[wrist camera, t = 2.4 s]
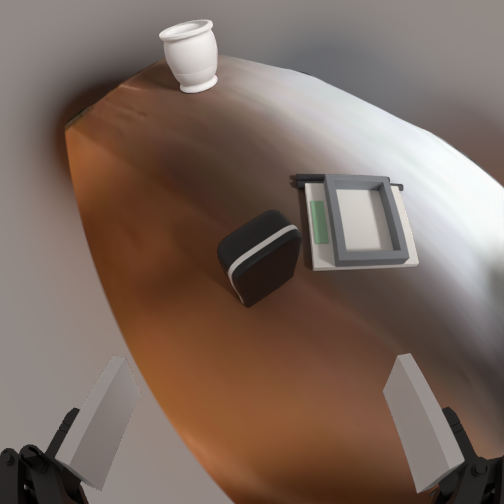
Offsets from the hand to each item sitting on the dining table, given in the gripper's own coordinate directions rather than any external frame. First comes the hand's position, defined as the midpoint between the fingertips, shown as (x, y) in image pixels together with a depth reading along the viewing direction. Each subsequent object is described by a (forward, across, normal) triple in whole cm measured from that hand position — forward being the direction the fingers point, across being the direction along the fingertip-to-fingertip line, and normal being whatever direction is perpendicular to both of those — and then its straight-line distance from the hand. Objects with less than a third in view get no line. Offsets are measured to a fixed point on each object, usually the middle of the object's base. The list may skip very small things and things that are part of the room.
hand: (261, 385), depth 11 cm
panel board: (+24, +13, +1) cm, 27 cm away
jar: (+51, -13, +26) cm, 59 cm away
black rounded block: (+20, 0, -4) cm, 20 cm away
